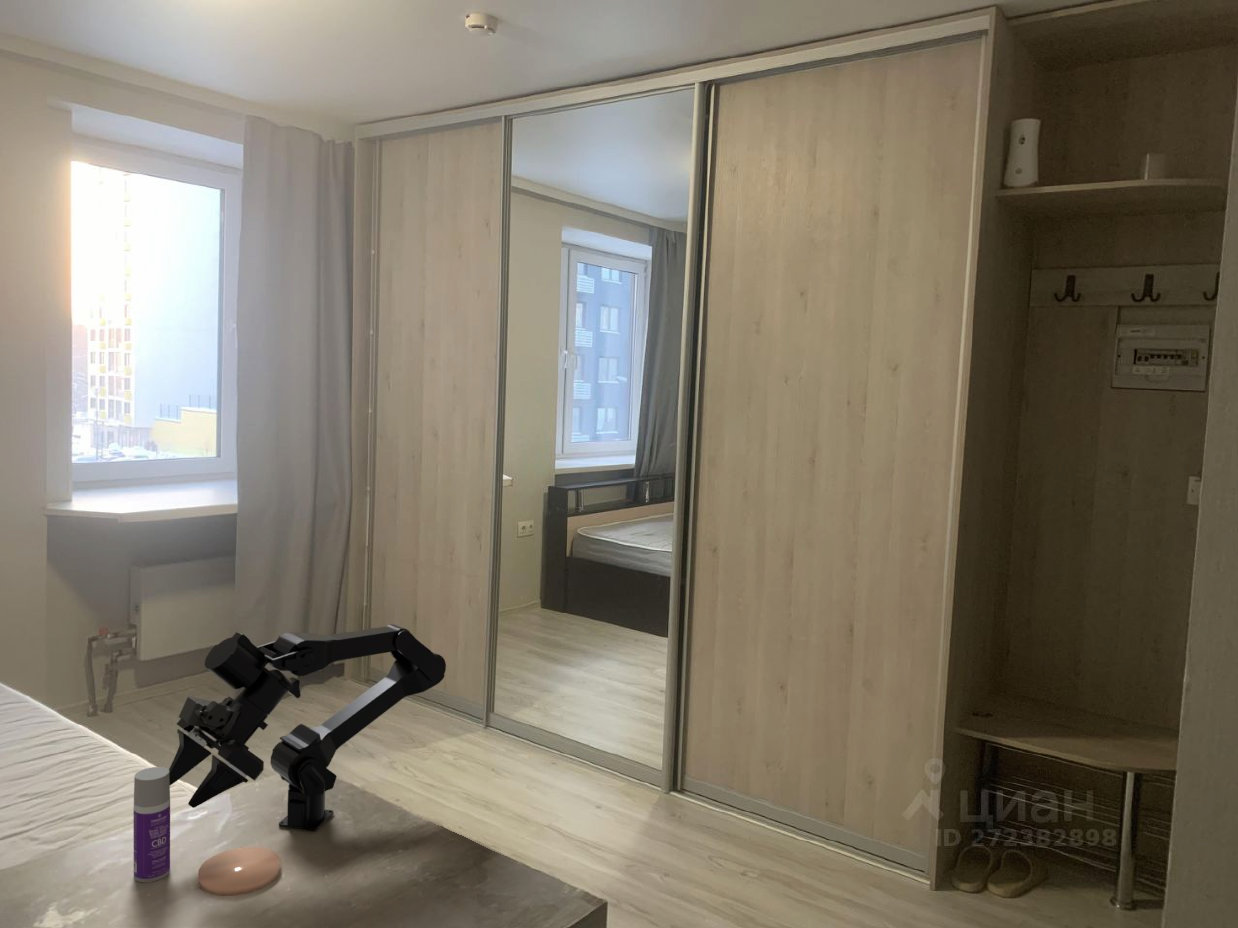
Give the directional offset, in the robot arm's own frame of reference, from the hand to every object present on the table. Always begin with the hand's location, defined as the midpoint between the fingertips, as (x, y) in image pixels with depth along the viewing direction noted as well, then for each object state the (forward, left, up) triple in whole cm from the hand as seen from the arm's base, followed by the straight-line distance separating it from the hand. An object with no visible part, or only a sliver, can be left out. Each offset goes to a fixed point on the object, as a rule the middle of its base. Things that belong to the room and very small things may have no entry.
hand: (177, 794), depth 132 cm
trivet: (0, +10, -11) cm, 15 cm away
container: (+3, -2, -11) cm, 11 cm away
